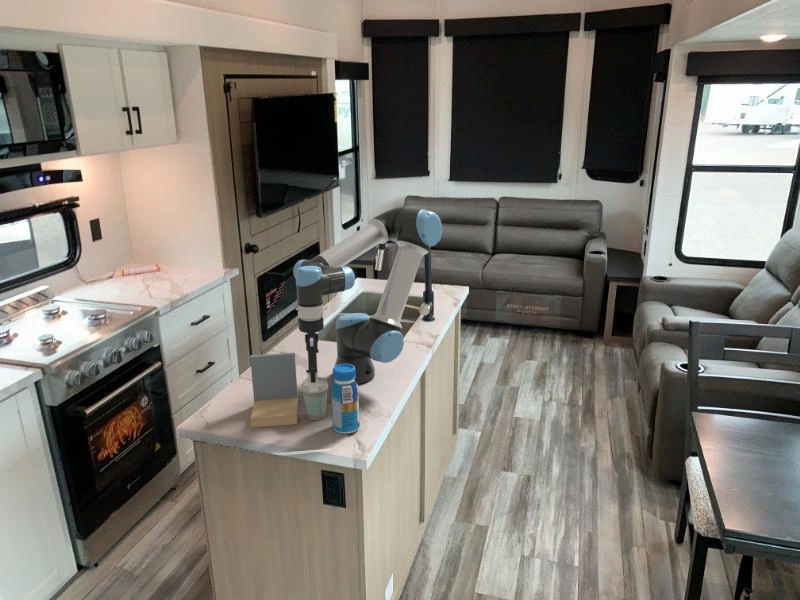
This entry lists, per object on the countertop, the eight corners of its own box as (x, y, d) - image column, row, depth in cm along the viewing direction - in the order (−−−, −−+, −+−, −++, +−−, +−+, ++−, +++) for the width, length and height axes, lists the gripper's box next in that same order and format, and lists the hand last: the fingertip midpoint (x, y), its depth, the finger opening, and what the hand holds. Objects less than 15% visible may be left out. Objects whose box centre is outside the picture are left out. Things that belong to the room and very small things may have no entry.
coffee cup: (325, 423, 183) (323, 388, 180) (299, 421, 185) (296, 386, 181) (333, 410, 191) (331, 377, 187) (308, 408, 193) (306, 374, 189)
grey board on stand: (298, 402, 197) (294, 352, 191) (297, 424, 183) (293, 371, 177) (255, 405, 195) (250, 355, 189) (250, 428, 181) (245, 374, 175)
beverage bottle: (327, 431, 179) (324, 370, 173) (341, 418, 186) (338, 360, 180) (352, 437, 175) (349, 375, 169) (364, 424, 183) (363, 364, 177)
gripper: (298, 305, 189) (301, 366, 195) (297, 331, 166) (300, 400, 172) (322, 304, 190) (324, 365, 196) (324, 330, 167) (326, 398, 173)
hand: (313, 381), depth 184 cm, fingers open, 13 cm apart
